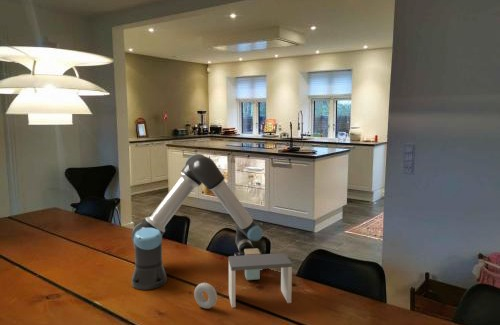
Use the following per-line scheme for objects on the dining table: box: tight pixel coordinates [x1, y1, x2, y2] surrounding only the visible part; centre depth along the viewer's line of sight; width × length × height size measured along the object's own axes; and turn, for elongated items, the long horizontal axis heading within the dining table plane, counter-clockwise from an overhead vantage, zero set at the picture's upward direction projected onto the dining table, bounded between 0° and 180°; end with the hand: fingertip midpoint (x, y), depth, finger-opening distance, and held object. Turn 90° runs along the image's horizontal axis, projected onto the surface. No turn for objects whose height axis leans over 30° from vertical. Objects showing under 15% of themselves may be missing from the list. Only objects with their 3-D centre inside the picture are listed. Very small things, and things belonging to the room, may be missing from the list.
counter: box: [228, 252, 293, 308], centre depth 147 cm, size 24×11×16 cm, turn 99°
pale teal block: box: [244, 247, 261, 281], centre depth 164 cm, size 6×6×12 cm
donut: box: [193, 282, 218, 310], centre depth 139 cm, size 10×4×10 cm, turn 63°
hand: (254, 267), depth 159 cm, fingers closed on pale teal block, 6 cm apart
